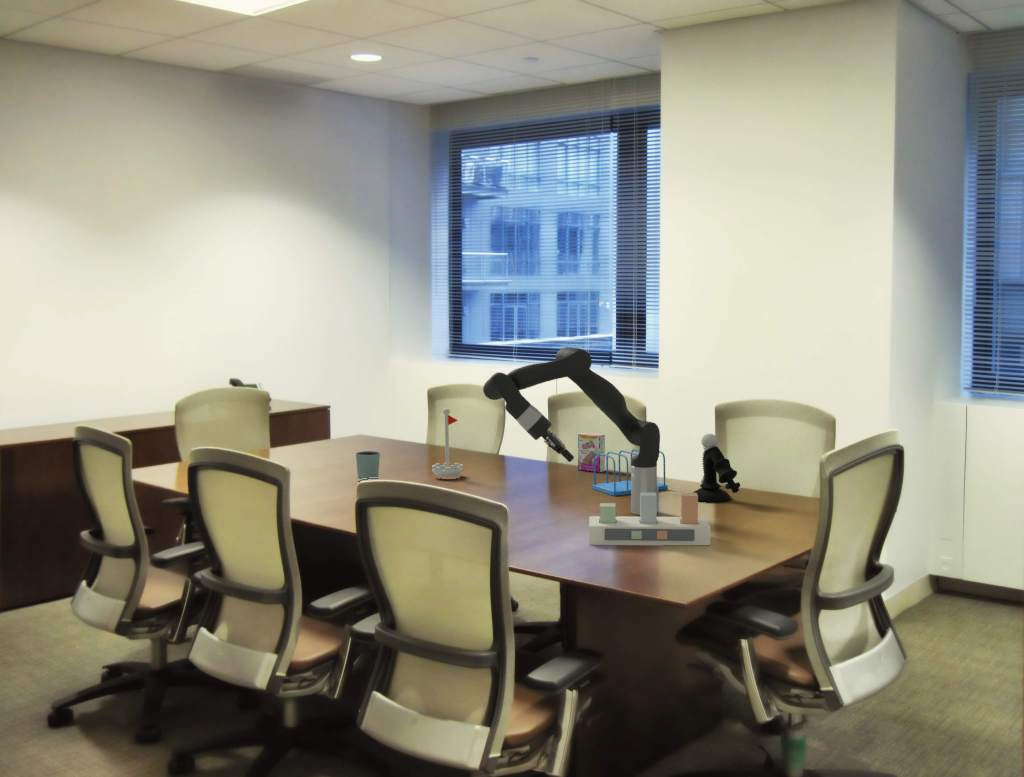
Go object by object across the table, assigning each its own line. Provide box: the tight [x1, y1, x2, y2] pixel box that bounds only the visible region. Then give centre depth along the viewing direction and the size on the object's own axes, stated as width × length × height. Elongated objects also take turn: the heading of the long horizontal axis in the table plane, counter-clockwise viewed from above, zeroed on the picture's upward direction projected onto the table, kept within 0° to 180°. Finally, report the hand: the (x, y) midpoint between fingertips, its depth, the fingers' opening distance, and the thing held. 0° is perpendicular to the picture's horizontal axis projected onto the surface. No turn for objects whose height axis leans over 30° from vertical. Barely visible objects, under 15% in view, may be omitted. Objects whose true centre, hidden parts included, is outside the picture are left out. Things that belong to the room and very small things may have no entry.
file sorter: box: [591, 448, 668, 497], centre depth 415 cm, size 25×17×15 cm
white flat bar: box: [588, 515, 711, 546], centre depth 334 cm, size 38×15×6 cm, turn 85°
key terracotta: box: [680, 492, 699, 524], centre depth 332 cm, size 5×5×10 cm
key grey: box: [639, 492, 658, 524], centre depth 334 cm, size 5×5×10 cm
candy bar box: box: [577, 432, 606, 474], centre depth 455 cm, size 11×5×16 cm, turn 58°
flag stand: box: [431, 407, 464, 477], centre depth 444 cm, size 13×13×30 cm
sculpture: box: [692, 433, 741, 504], centre depth 390 cm, size 15×24×25 cm, turn 27°
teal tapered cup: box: [355, 450, 381, 481], centre depth 440 cm, size 10×10×12 cm
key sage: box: [599, 502, 617, 523], centre depth 335 cm, size 5×5×10 cm
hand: (572, 459), depth 334 cm, fingers closed
